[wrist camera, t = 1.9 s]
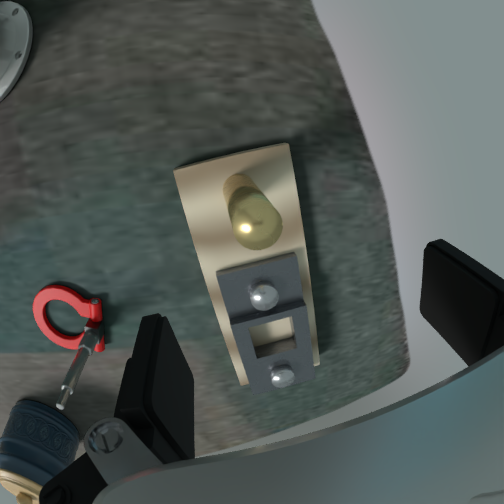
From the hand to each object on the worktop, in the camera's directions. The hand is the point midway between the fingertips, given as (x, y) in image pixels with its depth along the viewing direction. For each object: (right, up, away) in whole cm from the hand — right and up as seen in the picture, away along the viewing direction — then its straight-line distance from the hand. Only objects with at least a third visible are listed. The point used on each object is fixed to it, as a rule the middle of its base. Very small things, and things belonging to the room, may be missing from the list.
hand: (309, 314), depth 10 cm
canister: (-36, -26, +28) cm, 53 cm away
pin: (-3, +7, +16) cm, 18 cm away
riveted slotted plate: (0, -6, +23) cm, 23 cm away
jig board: (-1, -1, +22) cm, 22 cm away
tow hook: (-23, -5, +21) cm, 31 cm away
